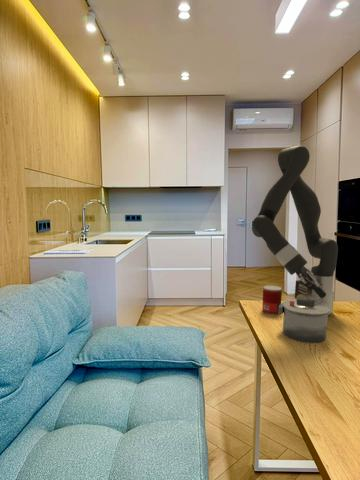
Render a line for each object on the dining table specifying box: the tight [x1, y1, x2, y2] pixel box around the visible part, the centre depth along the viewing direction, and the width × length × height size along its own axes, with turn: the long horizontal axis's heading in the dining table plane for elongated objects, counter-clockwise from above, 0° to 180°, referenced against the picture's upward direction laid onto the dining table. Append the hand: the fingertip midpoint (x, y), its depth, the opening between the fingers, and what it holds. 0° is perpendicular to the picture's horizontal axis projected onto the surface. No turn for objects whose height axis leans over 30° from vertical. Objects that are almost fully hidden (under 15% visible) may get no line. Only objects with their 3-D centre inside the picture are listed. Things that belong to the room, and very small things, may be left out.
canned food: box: [261, 284, 283, 315], centre depth 146 cm, size 8×8×11 cm
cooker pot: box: [278, 302, 329, 344], centre depth 121 cm, size 17×15×10 cm
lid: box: [282, 298, 330, 315], centre depth 120 cm, size 16×16×3 cm
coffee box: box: [294, 279, 322, 302], centre depth 136 cm, size 9×6×16 cm
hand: (324, 296), depth 116 cm, fingers closed
